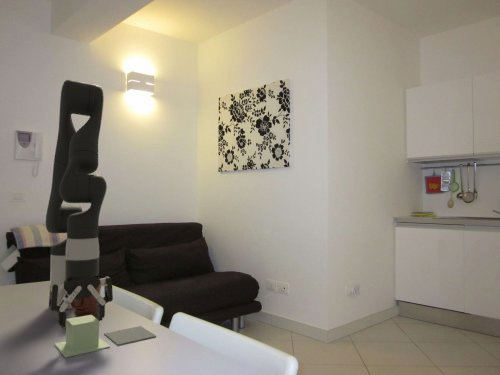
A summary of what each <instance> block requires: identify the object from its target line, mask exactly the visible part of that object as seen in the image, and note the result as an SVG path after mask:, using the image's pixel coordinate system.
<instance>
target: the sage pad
mask: <svg viewBox="0 0 500 375" xmlns="http://www.w3.org/2000/svg"><path fill="white" fill-rule="evenodd" d="M54 346H55V347H56V348H57V349H58V350H59V352H60V353H61V354H62V355H63V357H64V358H70V357H74V356H79V355H83V354H86V353H92V352H95V351H100V350H104V349H110V348H111V346H110V345H109V344H108V343H107V342H105V341H104V340H103V339H102V338H101V337H100V336H99V346H95V347H90V348H86V349H81V350H77V351H71V349H70V348H69V347H68V346H67V345H66V340H64V341H61V342H56V343H54Z"/></svg>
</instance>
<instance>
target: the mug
mask: <svg viewBox="0 0 500 375" xmlns="http://www.w3.org/2000/svg"><path fill="white" fill-rule="evenodd" d="M102 287H103V286H102V283H100V285H99V287H98V288H97V289H96V291H97V292H98V293H99V294H100V295H101V291H102ZM70 304H71V306H72V309H73V314H74V318H76V317H81V316H87V315H93V316H94V317H95V318H97V304H98V302H97V301H96V300H95V299H94V297H93V296H91V297H90V298H82V299H79V300H76V299H73V301H72V302H71V303H70Z"/></svg>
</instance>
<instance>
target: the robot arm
mask: <svg viewBox="0 0 500 375" xmlns="http://www.w3.org/2000/svg"><path fill="white" fill-rule="evenodd" d="M104 97H105V96H104V90H103V88H102V87H101V86H100V85H97V84H94V83H89V82H84V81H78V80H72V79H66V80H65V81H64V82H63V83H62V86H61V91H60V101H59V102H60V103H59V118H58V133H57V140H56V147H55V152H54V158H53V159H54V160H53V169H52V178H51V179H52V180H51V190H50V195H49V200H48V204H47V209H46V215H45V228H46V230H47V232H48V233H50V234H66V239H64V240H62V241H60V242H58V243H55V244H53V245H52V246H51V247H50V262H49V263H50V268H49V269H50V272H49V273H50V276H49V278H50V279H49V281H50V283H49V296H48V297H49V298H48V308H49V309H50V310H51V311H55V312H57V320H56V321H57V325H58V326H60V327H61V328H62V329H64V328H66V319H67V318H66V315H67V312H66V310H71V309H73V308H72V306H71V304H70V303H71V302H72V301H73V299H76V300H79V299H82V298H90V297H91V296H93V297H94V299H95V300H96V301H97V302H98V304H97V317H96V319H98V320H99V322H100V321H103V319H105V316H106V314H105V313H106V304H107V303H110V302H112V301H113V299H114V297H113V292H114V291H113V280H112V278H111V277H109V276H105V277H103V278H100V277H99V276H100V275H99V273H100V267H99V266H100V253H101V252H100V243H99V223H100V222H99V220H100V213H101V210H102V205H103V202H104V199H105V196H106V193H107V189H108V188H107V187H108V185H107V182H106V179H105V178H104V177H103V176H102V175H101V174H94V173H95V172H96V171H97V170H98V168H99V139H100V131H101V126H102V125H101V124H102V118H103V112H104V99H105V98H104ZM72 114H74V115H80V116H85V117H89V118H88V119H87V121H86V122H85V123H84V124H83V125H82V126H81V127H80V128H79V129H78V130H76V129H75V126H74V123H73V118H72ZM63 202H65V203H67V204H63ZM68 203H69V204H68ZM77 204H90V206H89V208H88V209H86V210H84V211H83V209H82V207H81V206H80V205H77ZM100 283H102V287H103V289H104V297H102V295H101V293H100V294H99V293H98V292H97V291H96V289H97V288H98V287H99V285H100Z"/></svg>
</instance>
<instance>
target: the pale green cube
mask: <svg viewBox="0 0 500 375" xmlns="http://www.w3.org/2000/svg"><path fill="white" fill-rule="evenodd" d="M99 332H100V321H99V320H98V319H97V317H94V316H93V315H87V316H81V317H72V318H71V317H70V318H66V327H65V341H66V345H67V346H68V347H69V348H70V349H71V351H77V350H81V349H86V348H90V347H95V346H99V337H100V334H99Z"/></svg>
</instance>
